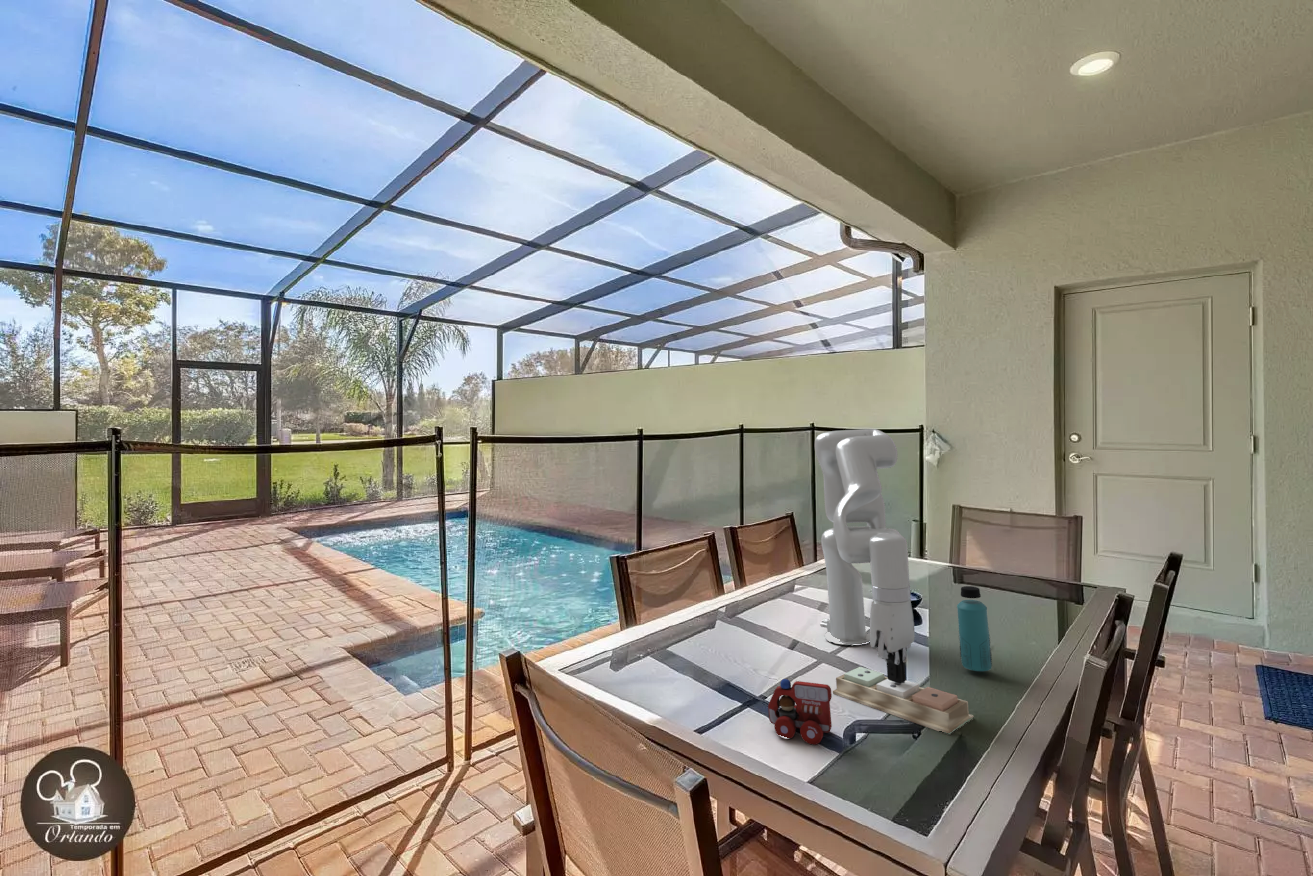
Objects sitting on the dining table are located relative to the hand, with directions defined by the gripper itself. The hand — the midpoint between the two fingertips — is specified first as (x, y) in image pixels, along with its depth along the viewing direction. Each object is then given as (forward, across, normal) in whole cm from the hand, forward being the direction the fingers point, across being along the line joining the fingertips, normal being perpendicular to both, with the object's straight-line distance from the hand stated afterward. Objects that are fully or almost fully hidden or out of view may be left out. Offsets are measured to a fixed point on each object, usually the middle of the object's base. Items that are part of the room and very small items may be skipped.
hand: (896, 680), depth 123 cm
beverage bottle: (+6, -28, +3) cm, 28 cm away
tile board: (+5, 0, 0) cm, 5 cm away
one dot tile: (+4, 0, +8) cm, 9 cm away
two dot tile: (+4, 0, -8) cm, 9 cm away
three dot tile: (+4, 0, 0) cm, 4 cm away
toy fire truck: (+5, +24, -6) cm, 25 cm away
